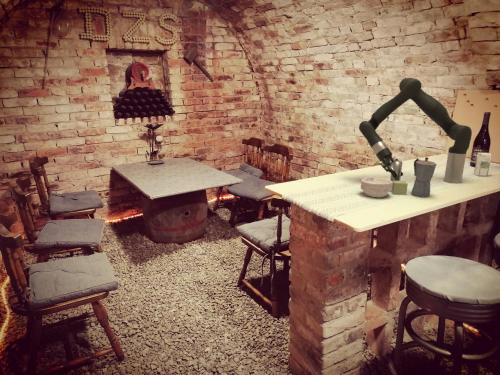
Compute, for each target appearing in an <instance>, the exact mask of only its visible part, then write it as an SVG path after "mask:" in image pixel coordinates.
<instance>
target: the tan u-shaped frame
mask: <svg viewBox="0 0 500 375" xmlns="http://www.w3.org/2000/svg"><path fill="white" fill-rule="evenodd" d="M392 182H393V184H392V191H391V192H390V193H392V195H399V196H400V195H402V196H407V193H408V192H407V191H408V185H409V184H408V182H407V181H405V180H400V181H392Z"/></svg>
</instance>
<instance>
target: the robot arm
mask: <svg viewBox="0 0 500 375" xmlns="http://www.w3.org/2000/svg"><path fill="white" fill-rule="evenodd" d="M422 86H423V85H422V82H421V81H420V79H417V78H414V77H405V78H403V79H402V80H401V81H400V82H399V84H398V87H399V90H400V91H399V92H398V93H397V94H396V95H395V96H394V97H392V98H391V99H390V100H388V101H386V102H384V103H383V104H381V105H380V107H378V108H377V109H376V110H375V111H374V112H373V113H372V114H371V117H370V119H369V120H362V121H361V122H360V123H359V126H358V129H359V132H360V133H361V134H362V136H363V137H364V139H365V140H366V141H367V142H368V145H369V146H370V148H371V149H372V151H373V153H374V154H375V156H376V157H377V159H378V160H379V162H381V163H379V164H380V166H381V167H382V169H384V171H385V172H387V173H390V175H391V174H392V176H393V177H394V178H396V177H397V176H398V175H397V174H396V172H395V171H394V169H393V167H392V166H393V165H392V162H393V161H399V159H398V158H395V159H394V157H393V153H392V150H390V148H389V146H388V145H387V144H386V143H385V142H384V140H383V138H382V137H381V136H380V134H378V133H377V131H376V130H377V129H378V128H379V126H380V125H381V123H382V122H384V121H385V120H386V119H387V118H388V117H390V115H392V114H393V113H394V112H395V111H396V110H397V109H398V108H400V107H401V106H402V105H403V104H405V103H406V102H407V101H409V100H411V101H412V102H414V104H416V106H418V108H419V109H420V110H421V111H422V112H423V113H424V114H425V115H426V116H427V118H429V119H430V120H432V121H433V123H435V124H436V125H437V126H439V127H440V128H441V129H442V130H443V132H444V133H445V134H446V136H448V138H450V139H451V140H453V141H454V143H453V145H452V146H450V147H448V151H447V160H446V164H445V170H444V175H443V176H444V178H443V181H444V182H447V183H452V184H461V183H462V180H463V176H464V175H463V174H464V169H465V163H466V158H467V151H468V150H469V148H470V144H471V141H472V137H473V136H472V135H473V133H472V132H473V130H472V129H471V127H470V126H469V125H463V124H460V123H457V122H456V121H454V119H453V118H452V117H450V114H449V111H448V109H447V108H446V107H445V105H443V104H442V103H441V102H440V101H439V100H438V99H436V98H435V97H433V96H432V95H431V94H428V93H427V92H425V91H424V90H423V89H422ZM403 176H404V173H403V171H402V170H401V177H403Z"/></svg>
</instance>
